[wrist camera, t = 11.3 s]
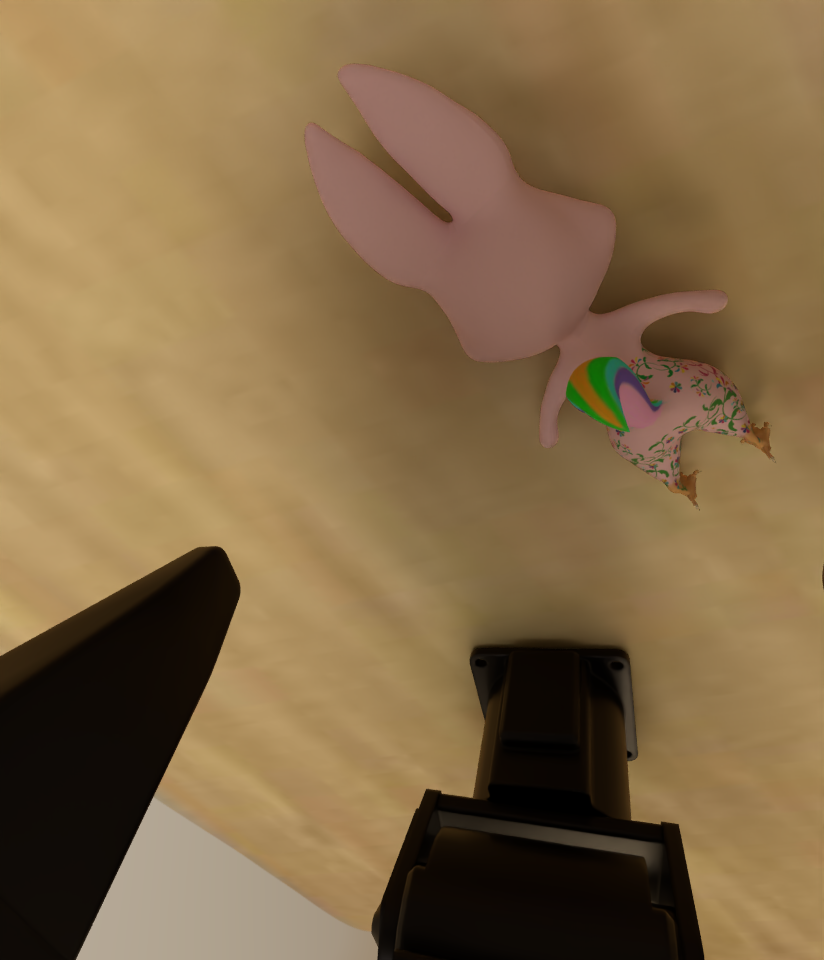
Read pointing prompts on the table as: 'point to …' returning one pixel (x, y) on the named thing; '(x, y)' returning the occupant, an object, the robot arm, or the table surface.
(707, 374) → the rabbit figure
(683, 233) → the table surface
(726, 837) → the table surface
